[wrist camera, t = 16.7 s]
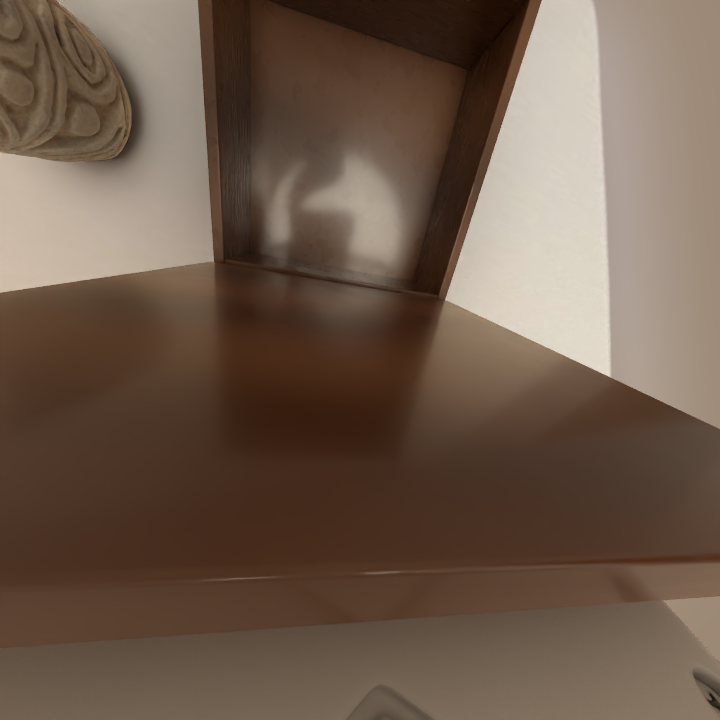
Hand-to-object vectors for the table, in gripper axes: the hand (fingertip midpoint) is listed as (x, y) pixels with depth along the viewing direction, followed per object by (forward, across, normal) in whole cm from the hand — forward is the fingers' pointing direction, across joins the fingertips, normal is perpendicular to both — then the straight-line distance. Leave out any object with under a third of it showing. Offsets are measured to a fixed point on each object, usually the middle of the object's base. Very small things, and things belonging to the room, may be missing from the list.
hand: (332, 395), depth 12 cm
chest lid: (-1, 0, -4) cm, 4 cm away
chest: (+14, 0, -11) cm, 18 cm away
